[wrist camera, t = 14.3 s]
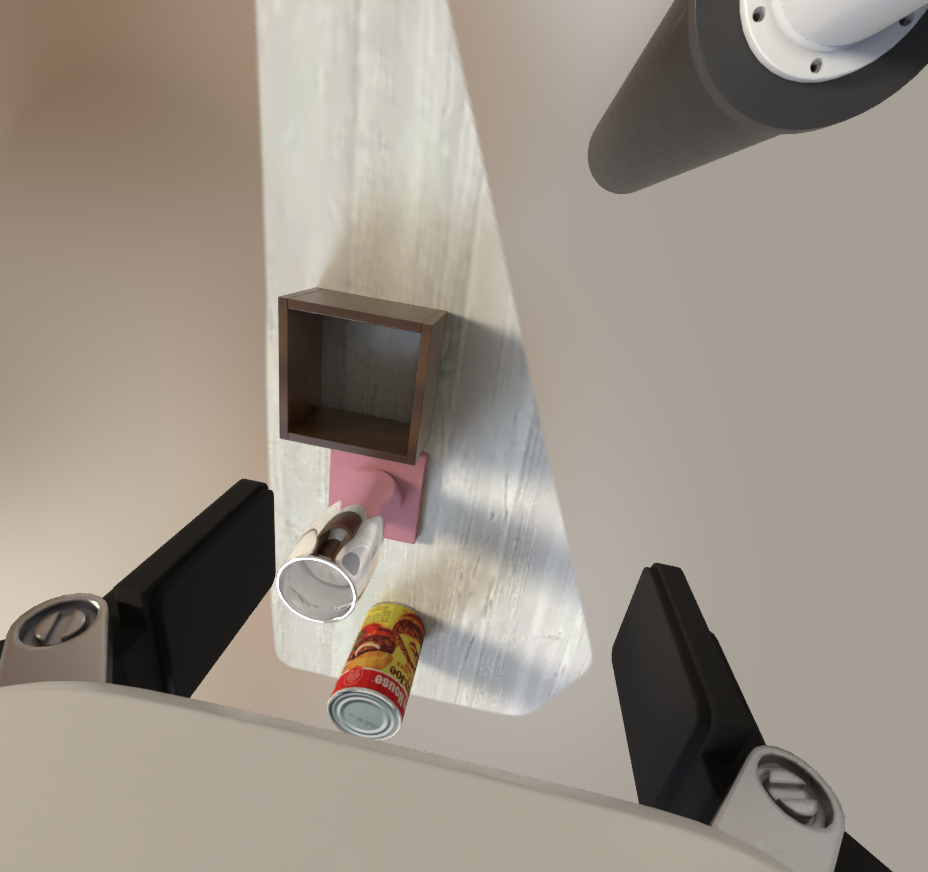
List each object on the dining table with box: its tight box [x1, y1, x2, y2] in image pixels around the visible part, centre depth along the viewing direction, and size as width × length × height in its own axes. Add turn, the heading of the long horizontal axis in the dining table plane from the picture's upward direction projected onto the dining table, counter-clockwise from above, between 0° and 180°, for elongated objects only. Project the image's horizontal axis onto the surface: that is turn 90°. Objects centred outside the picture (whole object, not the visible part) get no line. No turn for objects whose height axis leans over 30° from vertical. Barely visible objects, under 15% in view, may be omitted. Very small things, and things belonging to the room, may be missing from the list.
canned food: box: [327, 602, 426, 741], centre depth 53 cm, size 8×8×12 cm
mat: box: [329, 449, 428, 544], centre depth 50 cm, size 11×10×1 cm
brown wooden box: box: [278, 288, 447, 466], centre depth 42 cm, size 12×12×7 cm
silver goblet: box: [276, 468, 402, 623], centre depth 43 cm, size 7×7×15 cm
